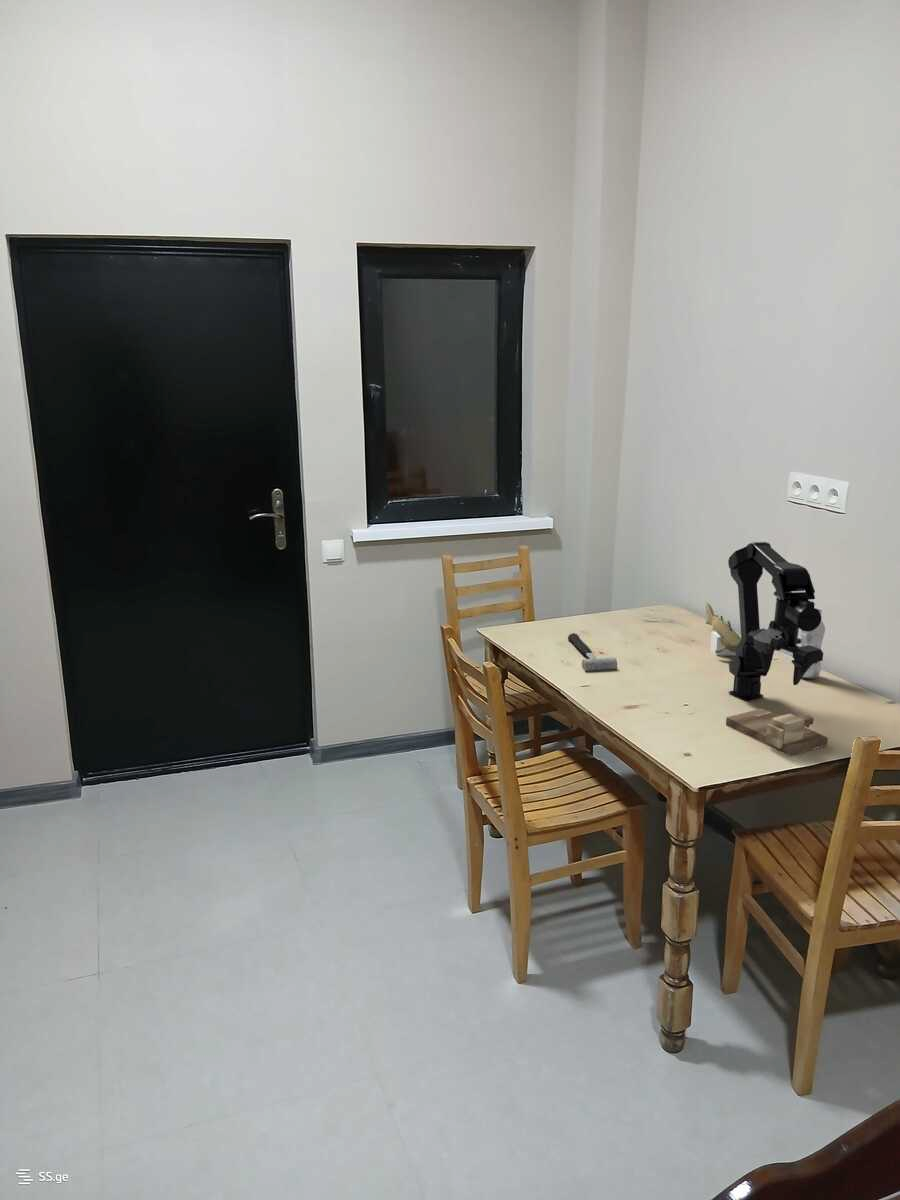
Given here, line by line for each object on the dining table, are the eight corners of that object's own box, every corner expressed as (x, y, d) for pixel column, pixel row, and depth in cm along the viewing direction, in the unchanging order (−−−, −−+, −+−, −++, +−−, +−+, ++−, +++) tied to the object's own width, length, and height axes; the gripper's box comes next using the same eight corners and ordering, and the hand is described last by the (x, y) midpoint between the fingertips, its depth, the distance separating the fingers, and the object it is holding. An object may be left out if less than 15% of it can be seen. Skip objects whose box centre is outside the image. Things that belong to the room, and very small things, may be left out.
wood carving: (718, 633, 279) (720, 601, 277) (753, 668, 246) (756, 632, 243) (691, 633, 280) (693, 601, 277) (723, 669, 246) (726, 633, 243)
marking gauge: (765, 742, 194) (767, 719, 192) (801, 732, 199) (804, 710, 198) (779, 748, 190) (781, 725, 189) (815, 738, 196) (818, 715, 194)
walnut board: (725, 724, 207) (726, 716, 206) (761, 715, 212) (761, 708, 212) (790, 756, 190) (791, 747, 189) (827, 745, 195) (828, 737, 194)
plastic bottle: (791, 677, 238) (798, 610, 233) (801, 671, 243) (808, 605, 238) (814, 683, 234) (821, 614, 229) (823, 676, 238) (831, 609, 233)
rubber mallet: (587, 631, 274) (617, 659, 245) (587, 641, 275) (617, 671, 246) (558, 632, 273) (585, 661, 244) (558, 643, 274) (585, 673, 245)
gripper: (733, 612, 205) (728, 671, 210) (793, 634, 189) (786, 697, 194) (766, 606, 210) (760, 664, 215) (828, 627, 194) (820, 689, 198)
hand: (780, 678), depth 205 cm, fingers open, 9 cm apart
